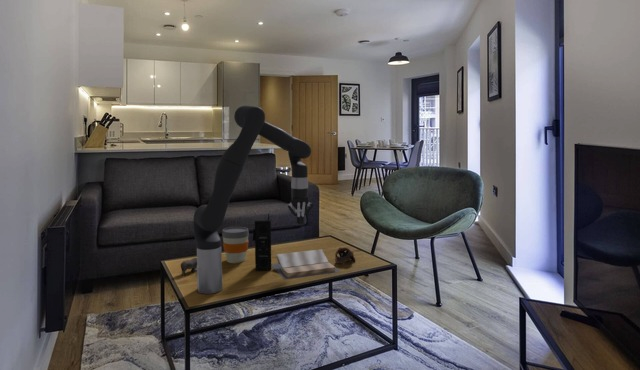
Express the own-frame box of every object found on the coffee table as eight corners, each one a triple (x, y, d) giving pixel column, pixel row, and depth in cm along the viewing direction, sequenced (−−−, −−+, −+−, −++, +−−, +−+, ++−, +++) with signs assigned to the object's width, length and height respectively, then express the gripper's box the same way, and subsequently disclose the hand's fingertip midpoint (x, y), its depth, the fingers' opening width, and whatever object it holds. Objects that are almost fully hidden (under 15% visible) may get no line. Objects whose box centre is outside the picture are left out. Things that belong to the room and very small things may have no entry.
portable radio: (253, 272, 189) (252, 216, 186) (253, 267, 195) (252, 213, 192) (271, 271, 191) (270, 215, 187) (270, 266, 197) (269, 212, 193)
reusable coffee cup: (252, 256, 212) (251, 226, 210) (245, 264, 200) (244, 233, 198) (227, 256, 213) (226, 226, 211) (219, 263, 201) (218, 232, 199)
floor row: (287, 277, 182) (287, 273, 181) (282, 272, 188) (282, 268, 188) (335, 271, 190) (335, 267, 190) (328, 266, 196) (328, 262, 196)
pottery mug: (360, 264, 201) (355, 252, 197) (343, 275, 199) (338, 262, 195) (348, 252, 211) (343, 239, 207) (331, 261, 209) (326, 249, 205)
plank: (281, 270, 189) (282, 267, 188) (276, 257, 196) (276, 254, 195) (327, 264, 197) (328, 261, 197) (321, 252, 204) (321, 249, 204)
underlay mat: (284, 280, 179) (284, 279, 179) (270, 264, 199) (270, 264, 199) (341, 272, 189) (341, 271, 189) (321, 258, 209) (321, 257, 209)
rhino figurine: (208, 268, 195) (208, 255, 195) (184, 276, 184) (183, 263, 183) (202, 266, 197) (201, 253, 197) (177, 275, 186) (177, 261, 185)
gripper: (288, 188, 189) (288, 227, 191) (316, 187, 194) (316, 225, 196) (283, 186, 196) (283, 224, 198) (310, 185, 201) (310, 221, 203)
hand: (299, 224), depth 197 cm, fingers closed
